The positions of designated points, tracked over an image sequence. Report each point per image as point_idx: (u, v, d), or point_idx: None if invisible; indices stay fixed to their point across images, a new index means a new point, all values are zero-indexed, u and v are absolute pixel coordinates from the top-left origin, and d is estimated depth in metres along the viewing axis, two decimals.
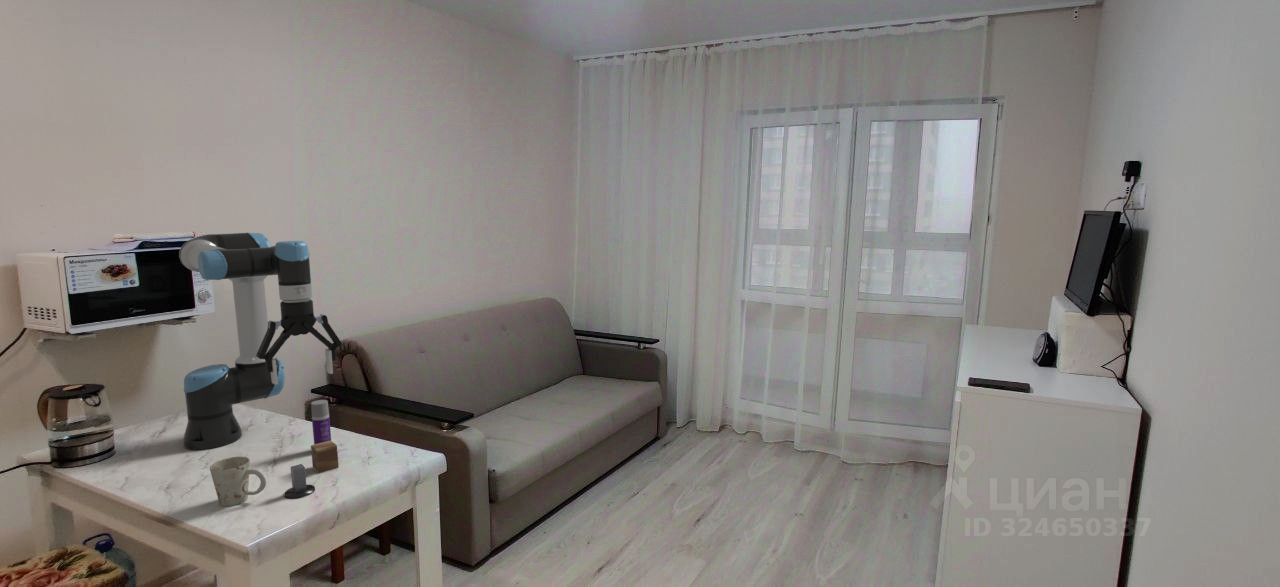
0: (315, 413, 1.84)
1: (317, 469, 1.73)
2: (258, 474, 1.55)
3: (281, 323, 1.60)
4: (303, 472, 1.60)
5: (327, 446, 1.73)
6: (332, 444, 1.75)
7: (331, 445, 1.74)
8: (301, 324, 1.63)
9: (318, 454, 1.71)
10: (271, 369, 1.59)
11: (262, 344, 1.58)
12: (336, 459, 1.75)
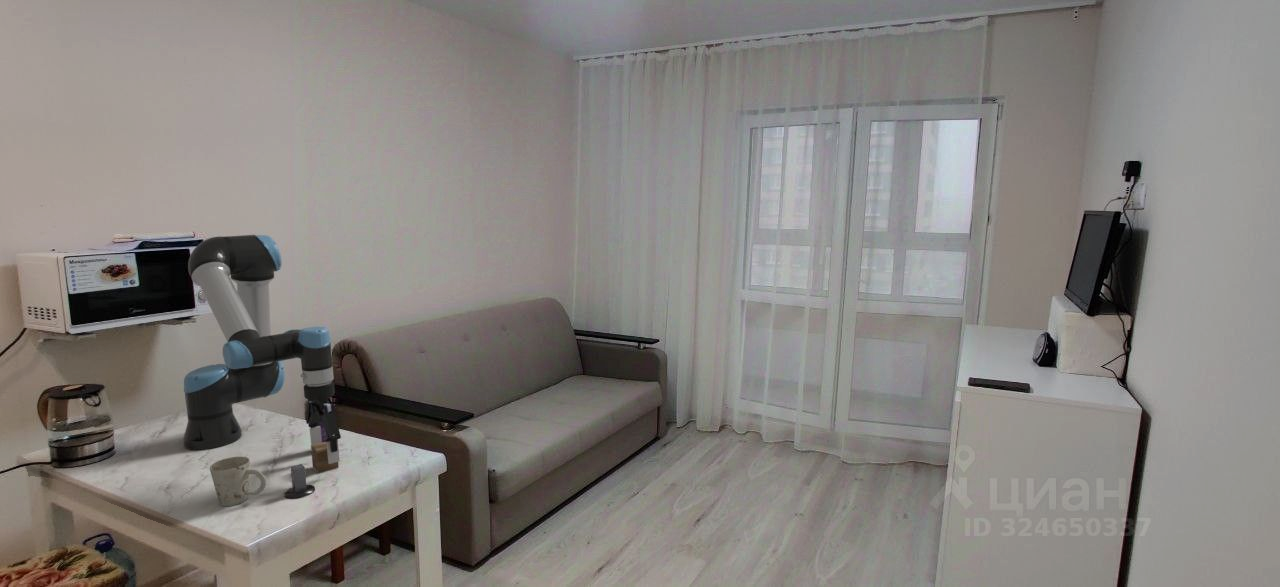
0: None
1: (317, 469, 1.73)
2: (258, 474, 1.55)
3: None
4: (303, 472, 1.60)
5: None
6: None
7: None
8: None
9: (318, 454, 1.71)
10: None
11: None
12: None
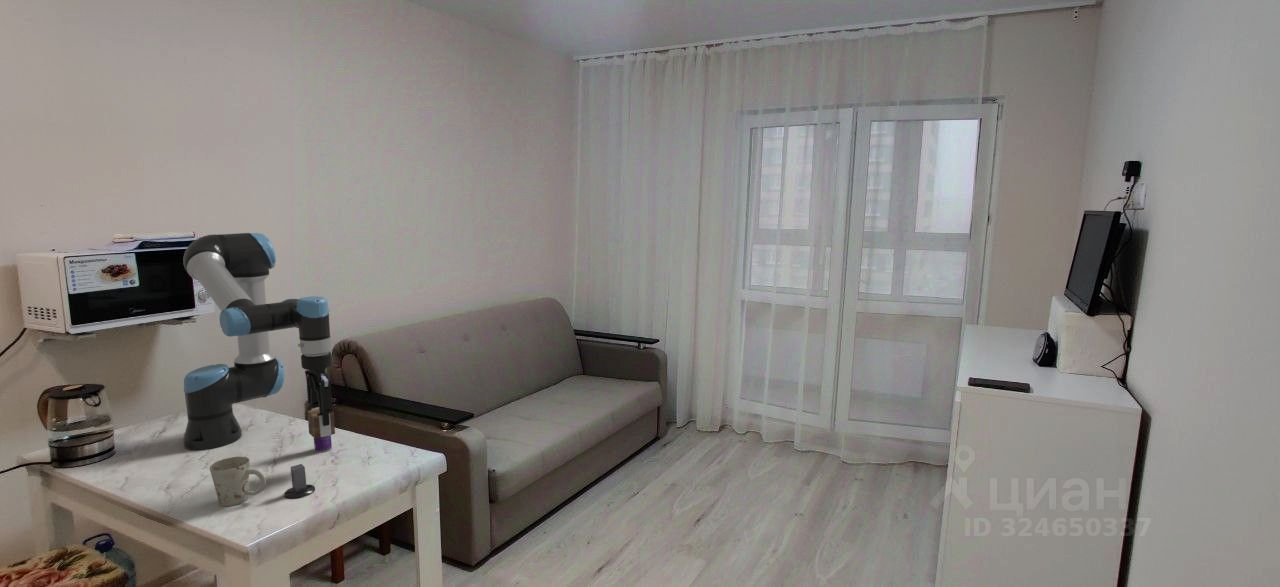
0: None
1: (313, 435, 1.71)
2: (258, 474, 1.55)
3: None
4: (303, 472, 1.60)
5: None
6: None
7: None
8: None
9: (314, 420, 1.70)
10: None
11: None
12: (333, 425, 1.74)
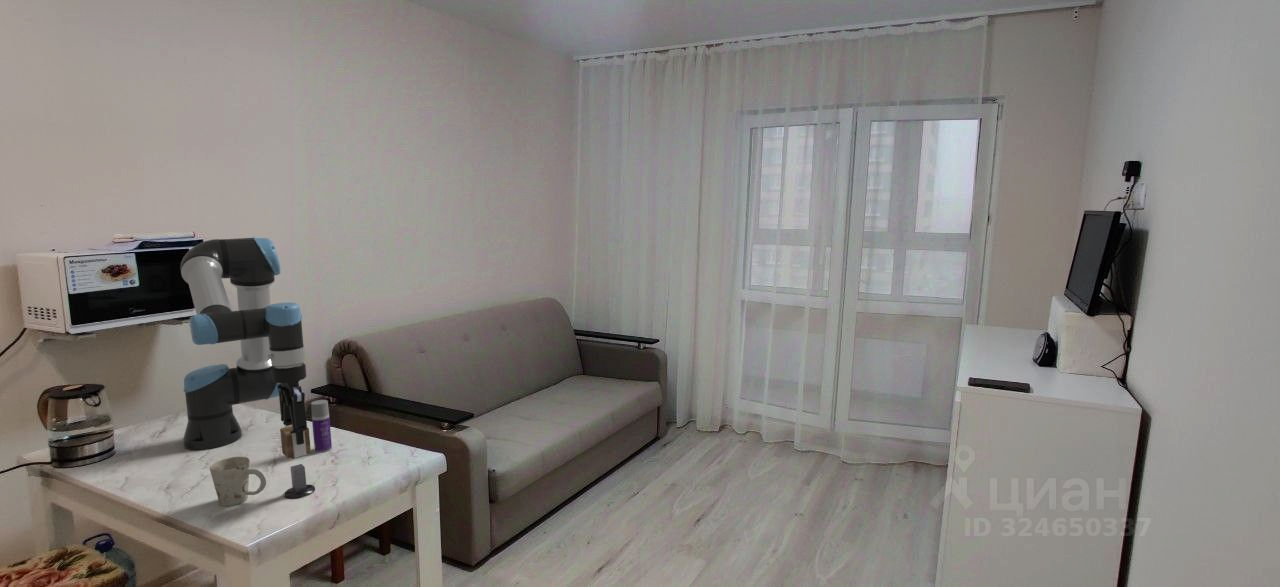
0: (315, 413, 1.84)
1: (287, 455, 1.56)
2: (258, 474, 1.55)
3: None
4: (303, 472, 1.60)
5: None
6: None
7: None
8: (286, 389, 1.55)
9: (287, 438, 1.55)
10: None
11: None
12: (308, 444, 1.58)
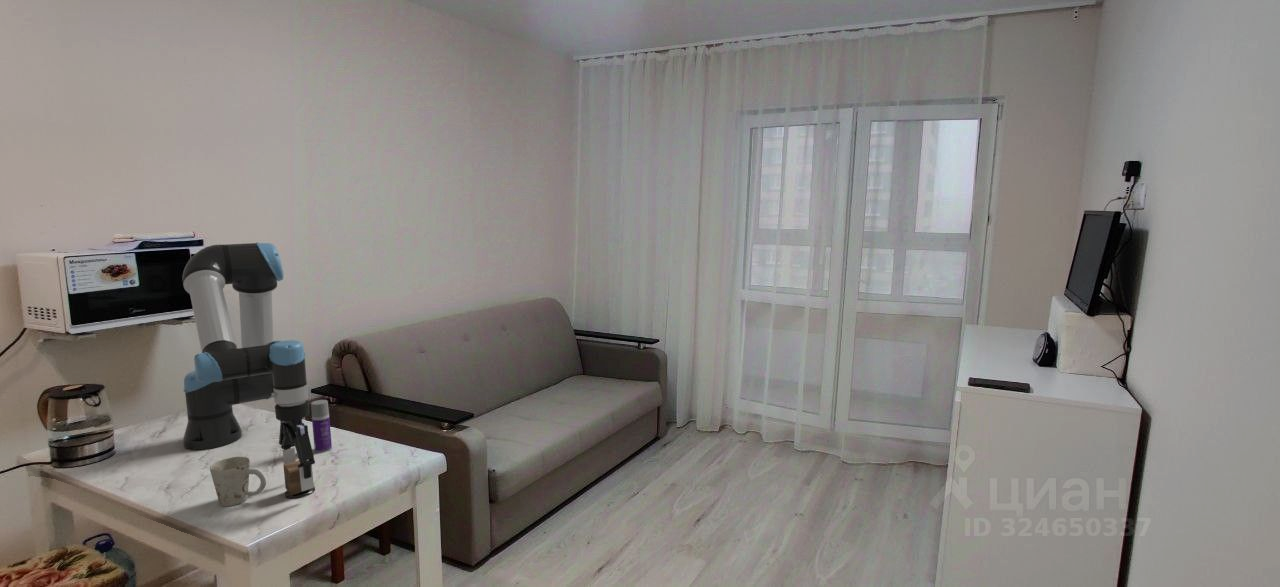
0: (315, 413, 1.84)
1: (290, 491, 1.58)
2: (258, 474, 1.55)
3: None
4: None
5: None
6: None
7: None
8: None
9: (291, 474, 1.56)
10: None
11: None
12: None
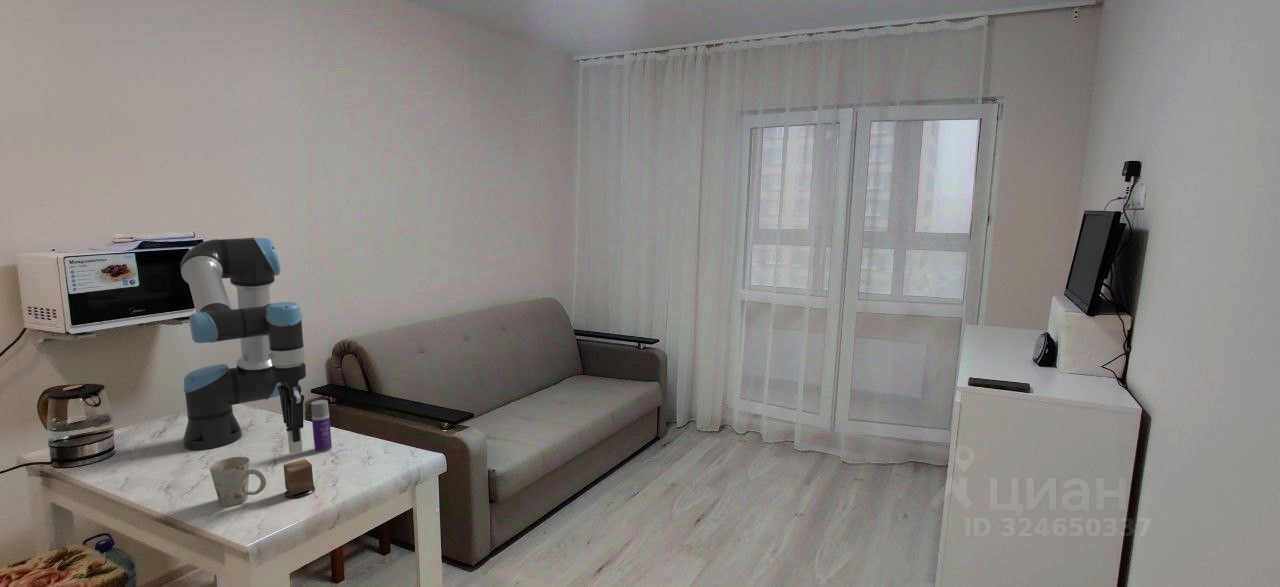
0: (315, 413, 1.84)
1: (290, 491, 1.58)
2: (258, 474, 1.55)
3: None
4: None
5: (301, 466, 1.59)
6: (307, 463, 1.60)
7: (305, 464, 1.60)
8: (285, 387, 1.55)
9: (291, 474, 1.56)
10: None
11: None
12: (311, 479, 1.60)
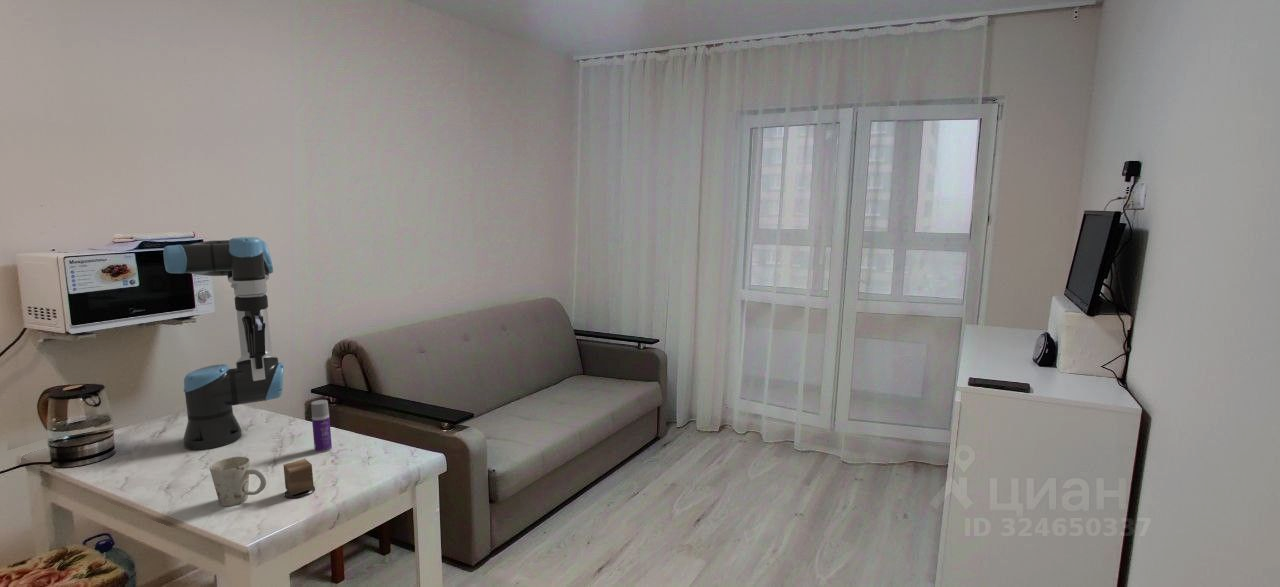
0: (315, 413, 1.84)
1: (290, 491, 1.58)
2: (258, 474, 1.55)
3: None
4: None
5: (301, 466, 1.59)
6: (307, 463, 1.60)
7: (305, 464, 1.60)
8: (248, 317, 1.66)
9: (291, 474, 1.56)
10: None
11: None
12: (311, 479, 1.60)
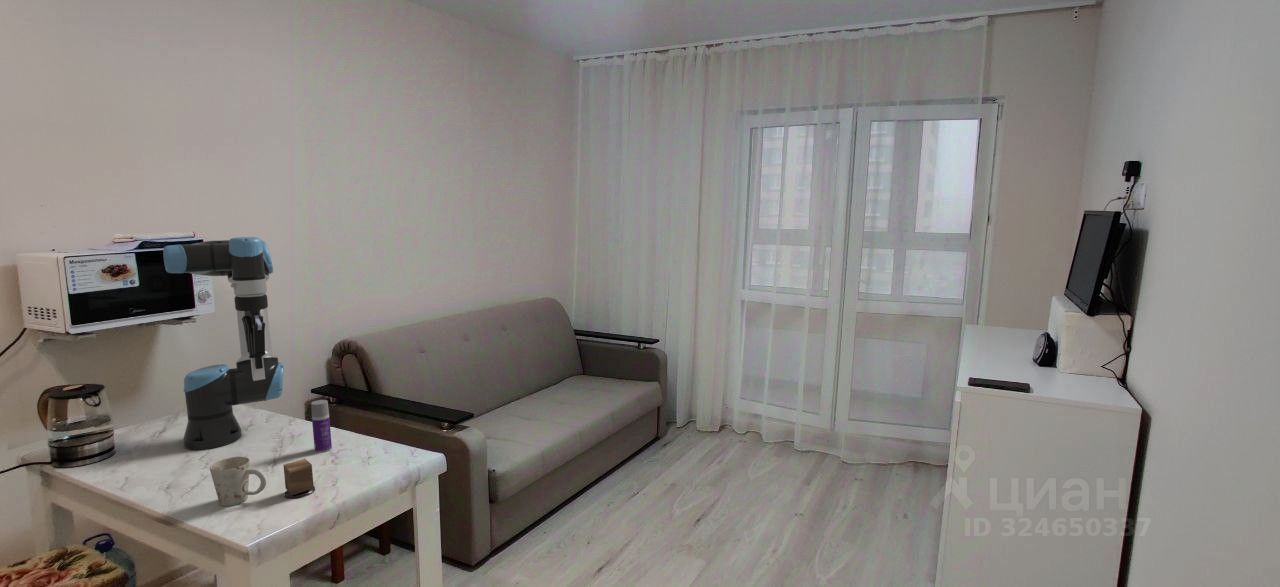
0: (315, 413, 1.84)
1: (290, 491, 1.58)
2: (258, 474, 1.55)
3: None
4: None
5: (301, 466, 1.59)
6: (307, 463, 1.60)
7: (305, 464, 1.60)
8: (248, 317, 1.66)
9: (291, 474, 1.56)
10: None
11: None
12: (311, 479, 1.60)
